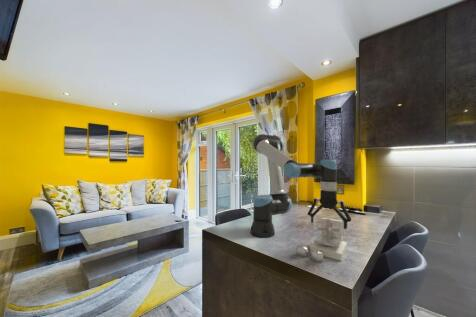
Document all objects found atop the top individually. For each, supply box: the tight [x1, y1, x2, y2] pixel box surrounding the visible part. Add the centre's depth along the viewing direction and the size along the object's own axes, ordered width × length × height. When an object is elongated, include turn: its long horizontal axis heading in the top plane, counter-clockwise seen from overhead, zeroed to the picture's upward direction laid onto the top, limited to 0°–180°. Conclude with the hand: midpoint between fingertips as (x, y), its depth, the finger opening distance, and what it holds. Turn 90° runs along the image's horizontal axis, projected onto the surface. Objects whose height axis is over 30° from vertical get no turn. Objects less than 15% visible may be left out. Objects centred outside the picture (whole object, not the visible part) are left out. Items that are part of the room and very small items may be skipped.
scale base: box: [309, 217, 348, 261], centre depth 102 cm, size 14×18×14 cm
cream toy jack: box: [317, 218, 340, 240], centre depth 101 cm, size 10×10×10 cm
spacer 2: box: [311, 249, 324, 264], centre depth 91 cm, size 5×5×4 cm
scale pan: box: [313, 233, 342, 248], centre depth 101 cm, size 11×11×1 cm
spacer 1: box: [296, 244, 309, 258], centre depth 96 cm, size 5×5×4 cm
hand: (328, 232), depth 101 cm, fingers open, 13 cm apart
